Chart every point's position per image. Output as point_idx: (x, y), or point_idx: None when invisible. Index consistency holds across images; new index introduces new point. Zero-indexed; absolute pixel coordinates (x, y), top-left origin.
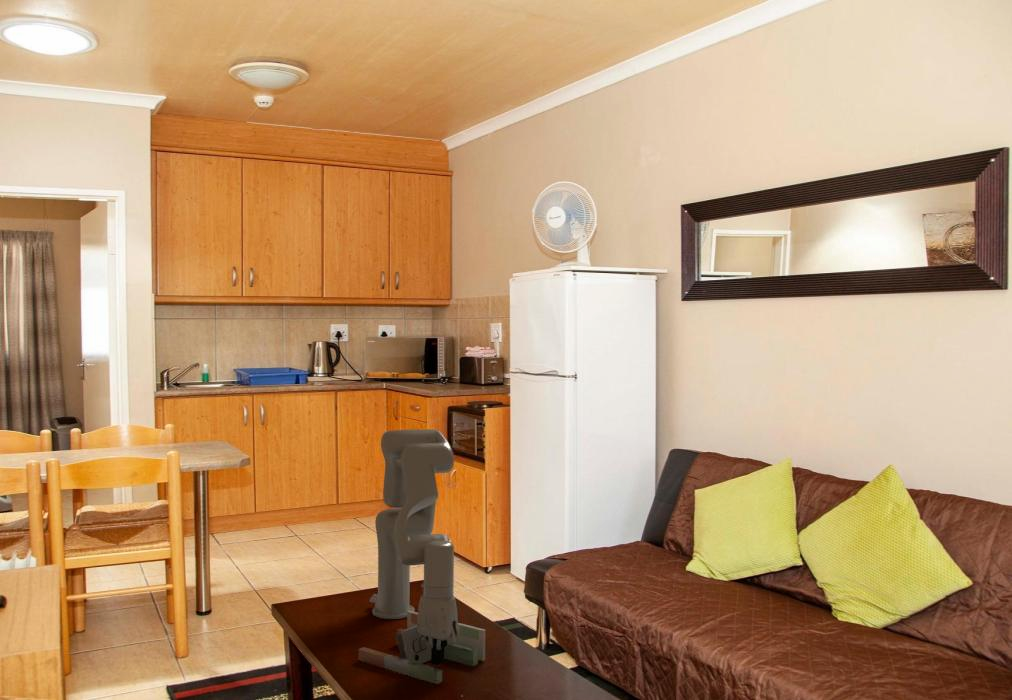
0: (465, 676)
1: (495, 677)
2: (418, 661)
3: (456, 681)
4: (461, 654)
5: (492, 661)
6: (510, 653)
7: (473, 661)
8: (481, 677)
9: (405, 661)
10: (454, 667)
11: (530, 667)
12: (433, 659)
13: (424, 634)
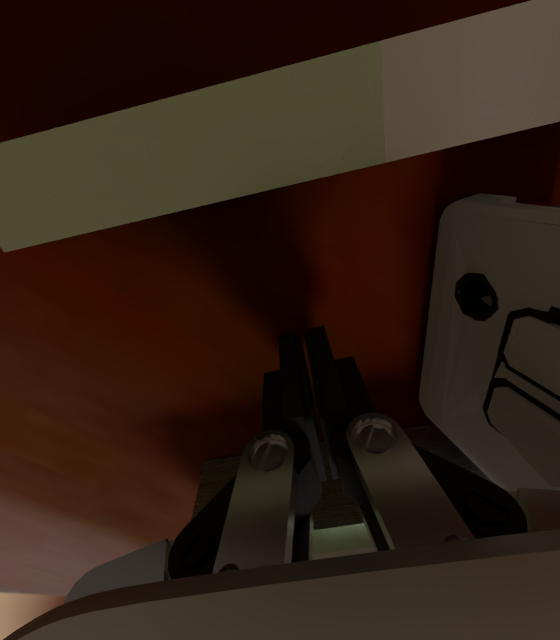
0: (105, 380)
1: (29, 458)
2: (446, 295)
3: (52, 306)
4: None
5: None
6: None
7: (199, 485)
8: (55, 423)
9: (474, 74)
10: (252, 406)
11: (79, 559)
12: (311, 351)
13: (545, 574)
